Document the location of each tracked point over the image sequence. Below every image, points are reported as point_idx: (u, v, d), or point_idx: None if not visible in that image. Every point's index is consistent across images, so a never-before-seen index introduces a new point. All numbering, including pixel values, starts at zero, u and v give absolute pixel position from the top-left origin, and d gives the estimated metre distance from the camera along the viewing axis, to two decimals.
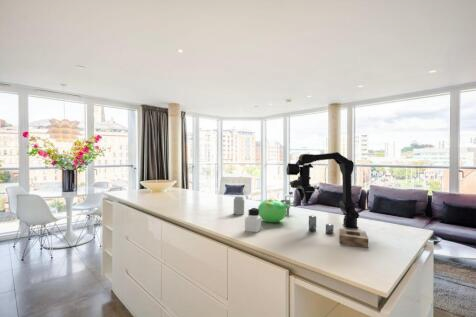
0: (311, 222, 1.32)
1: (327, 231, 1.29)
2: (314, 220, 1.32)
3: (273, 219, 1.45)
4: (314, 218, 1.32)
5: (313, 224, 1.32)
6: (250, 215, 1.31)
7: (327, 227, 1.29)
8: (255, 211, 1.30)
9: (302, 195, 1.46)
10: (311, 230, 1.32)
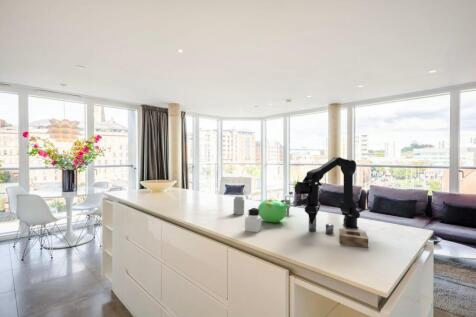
0: None
1: (327, 231, 1.29)
2: (314, 220, 1.32)
3: (273, 219, 1.45)
4: None
5: (313, 224, 1.32)
6: (250, 215, 1.31)
7: (327, 227, 1.29)
8: (255, 211, 1.30)
9: None
10: (311, 230, 1.32)
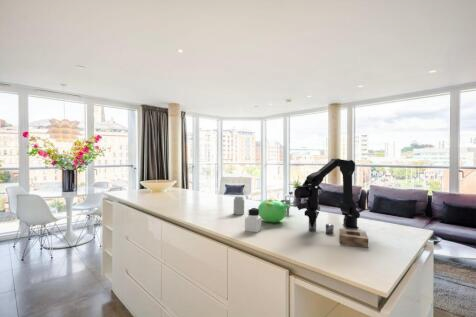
0: None
1: (327, 231, 1.29)
2: None
3: (273, 219, 1.45)
4: None
5: None
6: (250, 215, 1.31)
7: (327, 227, 1.29)
8: (255, 211, 1.30)
9: None
10: (311, 230, 1.32)
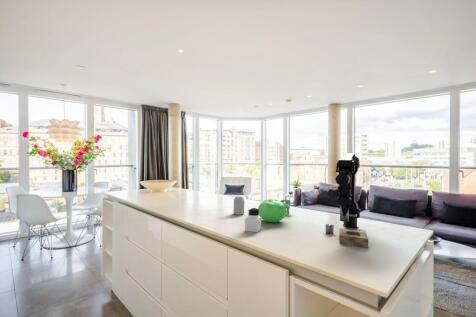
0: None
1: (327, 231, 1.29)
2: None
3: (273, 219, 1.45)
4: None
5: None
6: (250, 215, 1.31)
7: (327, 227, 1.29)
8: (255, 211, 1.30)
9: None
10: (343, 220, 1.19)
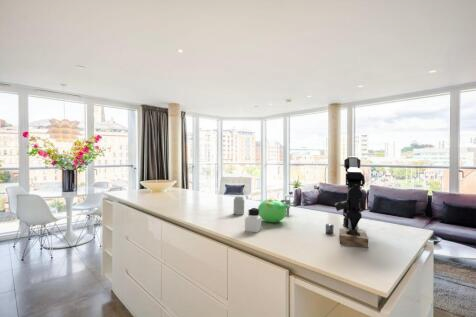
0: None
1: (327, 231, 1.29)
2: None
3: (273, 219, 1.45)
4: None
5: None
6: (250, 215, 1.31)
7: (327, 227, 1.29)
8: (255, 211, 1.30)
9: None
10: (352, 234, 1.16)
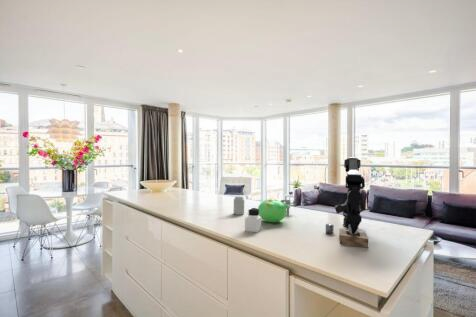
0: None
1: (327, 231, 1.29)
2: None
3: (273, 219, 1.45)
4: None
5: (355, 234, 1.16)
6: (250, 215, 1.31)
7: (327, 227, 1.29)
8: (255, 211, 1.30)
9: None
10: None
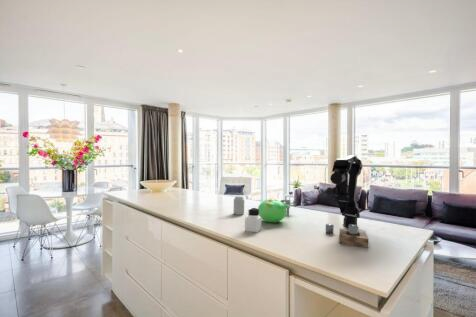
0: (352, 232, 1.16)
1: (327, 231, 1.29)
2: (355, 229, 1.16)
3: (273, 219, 1.45)
4: (355, 227, 1.16)
5: (355, 234, 1.16)
6: (250, 215, 1.31)
7: (327, 227, 1.29)
8: (255, 211, 1.30)
9: None
10: None
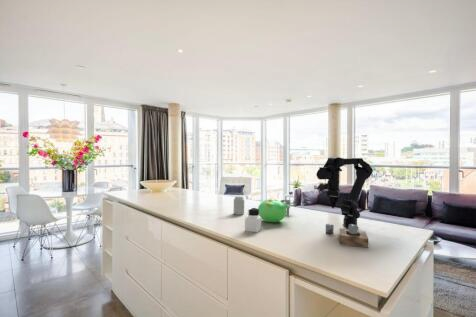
0: (352, 232, 1.16)
1: (327, 231, 1.29)
2: (355, 229, 1.16)
3: (273, 219, 1.45)
4: (355, 227, 1.16)
5: (355, 234, 1.16)
6: (250, 215, 1.31)
7: (327, 227, 1.29)
8: (255, 211, 1.30)
9: None
10: None
